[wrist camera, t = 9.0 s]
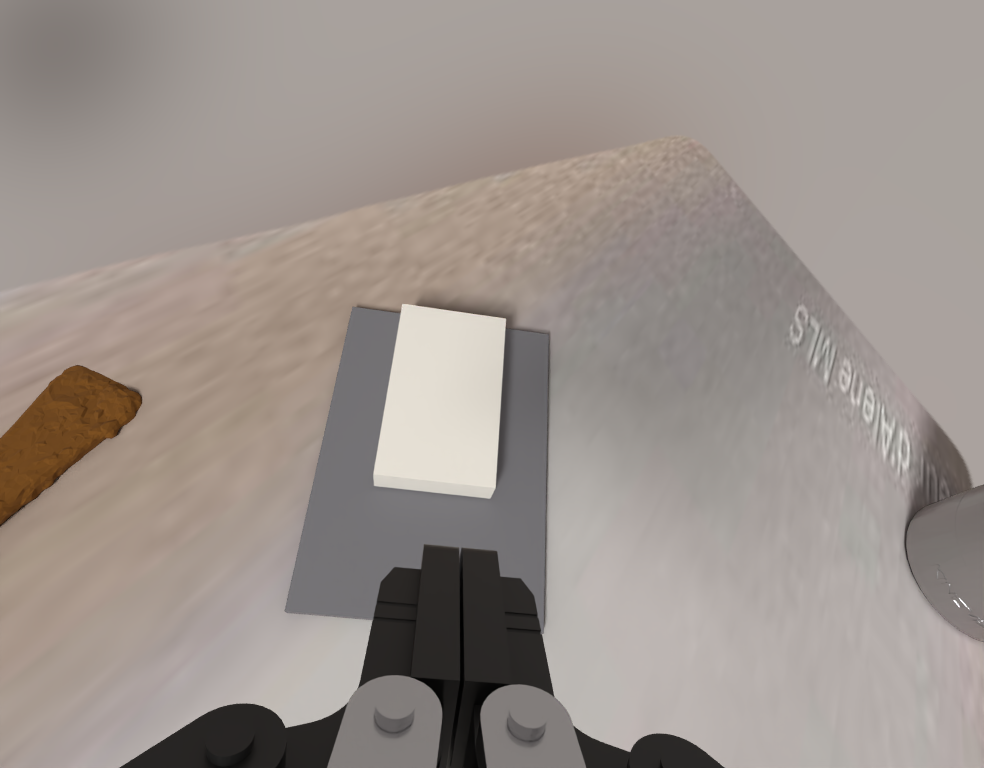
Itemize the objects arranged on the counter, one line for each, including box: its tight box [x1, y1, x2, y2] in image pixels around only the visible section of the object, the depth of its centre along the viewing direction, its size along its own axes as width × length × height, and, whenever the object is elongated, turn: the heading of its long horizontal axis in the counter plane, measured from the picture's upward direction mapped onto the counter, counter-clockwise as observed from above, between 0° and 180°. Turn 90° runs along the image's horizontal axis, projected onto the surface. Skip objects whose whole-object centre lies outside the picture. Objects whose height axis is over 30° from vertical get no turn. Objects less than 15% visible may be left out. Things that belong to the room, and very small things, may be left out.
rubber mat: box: [285, 307, 549, 634], centre depth 37 cm, size 20×14×1 cm
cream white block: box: [373, 304, 506, 499], centre depth 37 cm, size 2×7×12 cm
